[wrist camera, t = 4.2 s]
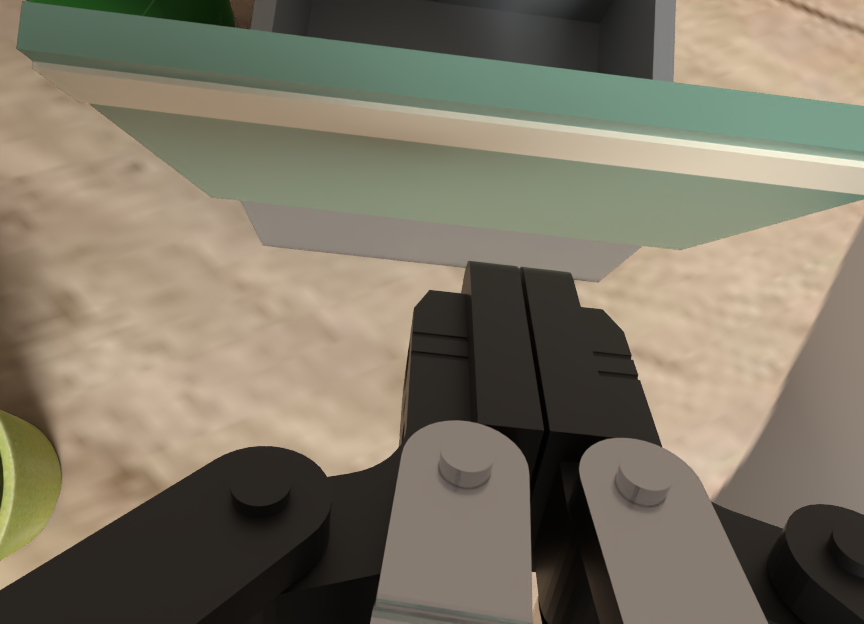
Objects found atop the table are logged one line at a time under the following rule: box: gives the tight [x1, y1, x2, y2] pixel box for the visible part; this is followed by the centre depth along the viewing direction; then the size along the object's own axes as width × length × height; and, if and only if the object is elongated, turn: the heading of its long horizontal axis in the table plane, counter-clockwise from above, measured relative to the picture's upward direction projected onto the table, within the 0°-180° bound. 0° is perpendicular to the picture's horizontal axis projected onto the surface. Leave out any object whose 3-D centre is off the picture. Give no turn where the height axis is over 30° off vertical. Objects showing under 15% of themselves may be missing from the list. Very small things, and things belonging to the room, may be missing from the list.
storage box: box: [241, 0, 676, 282], centre depth 34 cm, size 16×14×9 cm
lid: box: [16, 1, 864, 250], centre depth 20 cm, size 17×14×1 cm
